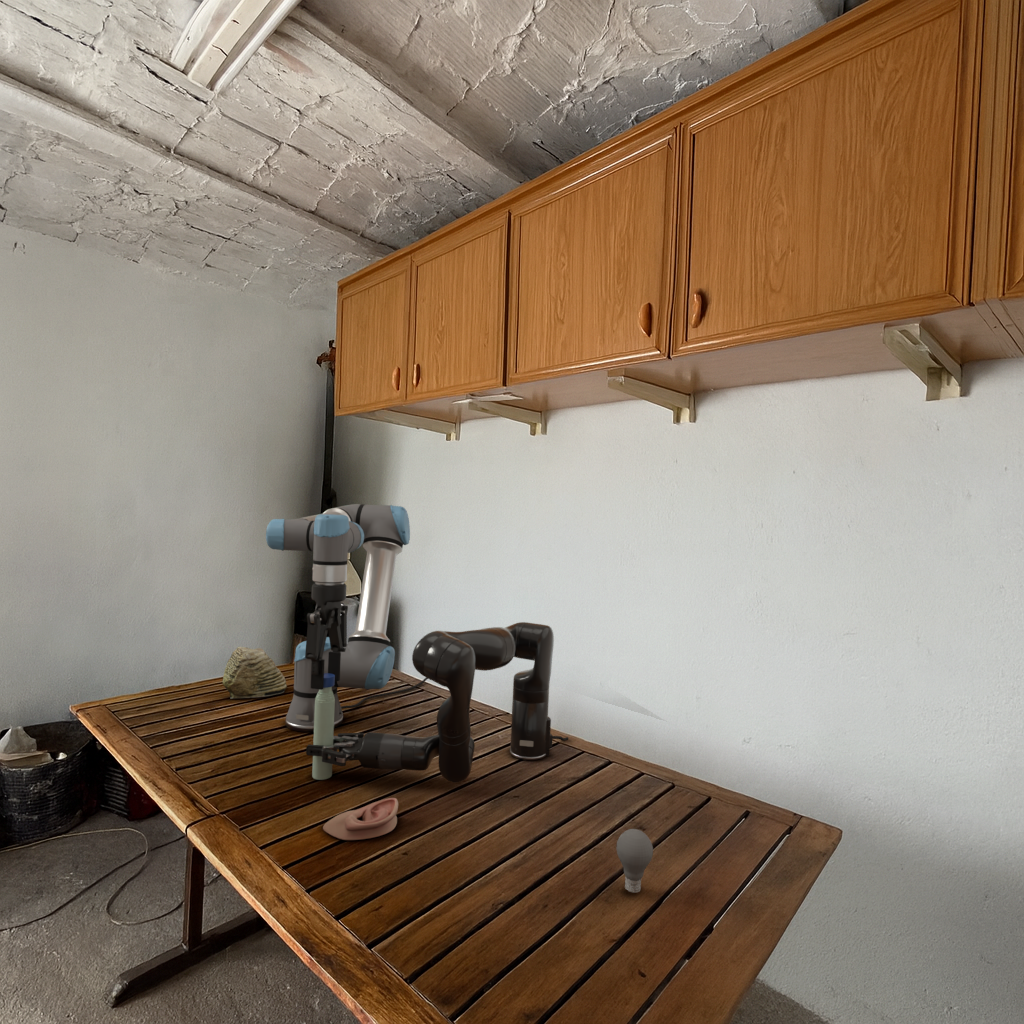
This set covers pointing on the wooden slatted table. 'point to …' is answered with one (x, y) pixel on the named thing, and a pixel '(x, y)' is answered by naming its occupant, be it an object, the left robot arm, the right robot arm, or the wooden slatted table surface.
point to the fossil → (252, 674)
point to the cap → (329, 680)
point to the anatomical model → (364, 821)
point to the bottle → (323, 730)
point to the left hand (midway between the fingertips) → (325, 684)
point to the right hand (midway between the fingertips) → (311, 745)
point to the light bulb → (634, 857)
